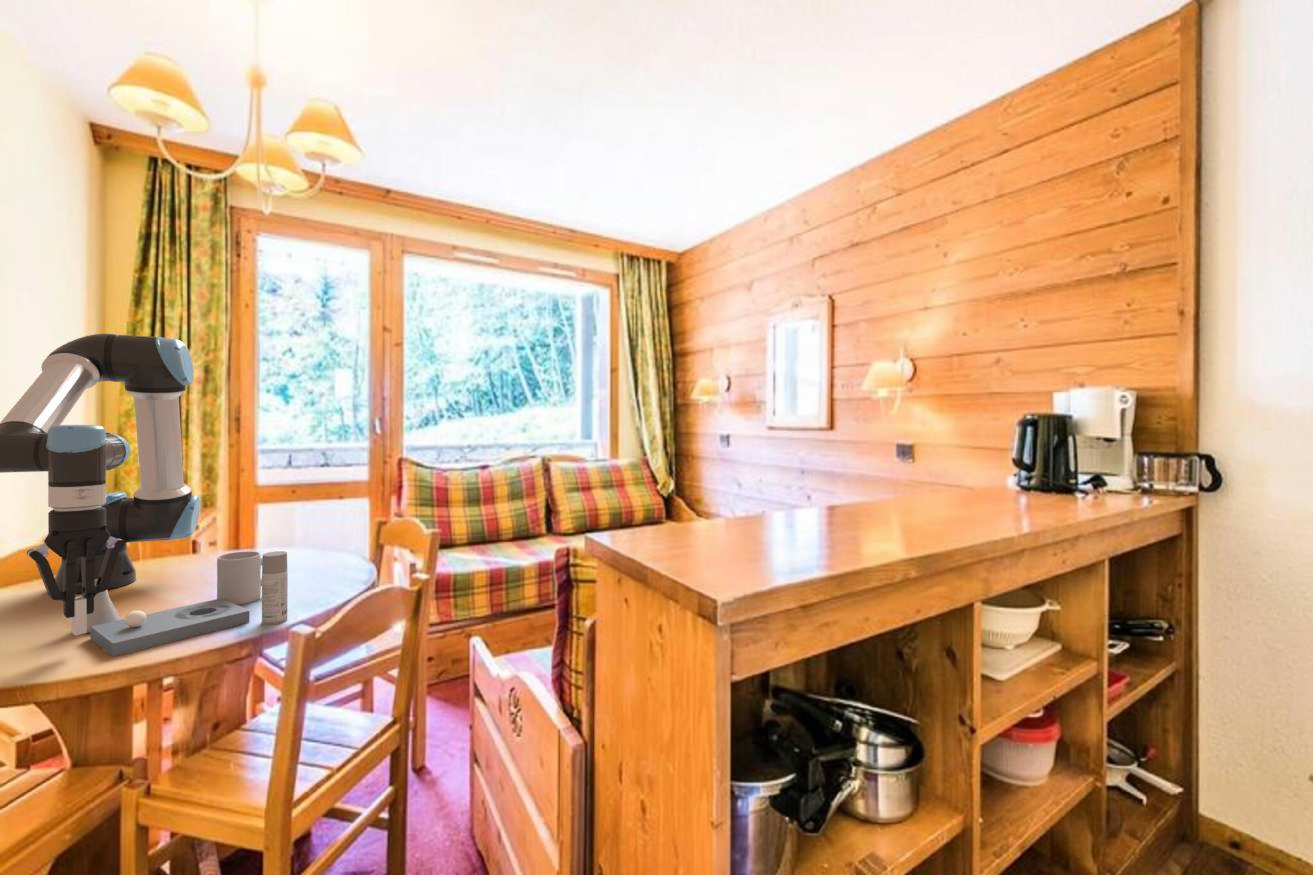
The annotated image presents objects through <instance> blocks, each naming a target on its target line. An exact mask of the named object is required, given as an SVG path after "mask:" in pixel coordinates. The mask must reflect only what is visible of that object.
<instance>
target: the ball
mask: <svg viewBox="0 0 1313 875" xmlns="http://www.w3.org/2000/svg"><path fill="white" fill-rule="evenodd" d="M146 614H147V613H145V612H144V611H143V610H132V611H130V612H129V613H128V614H127V615H126V616H125V618H124V619H125V624H126V625H127V626H129V627H138V626H141V625H142V624H143V623H144V622H145V621H146Z"/></svg>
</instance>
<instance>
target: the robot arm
mask: <svg viewBox="0 0 1313 875" xmlns="http://www.w3.org/2000/svg"><path fill="white" fill-rule="evenodd" d="M193 381H194V366H193V360H192V357H191V354H190V350H189V349H188V347H187V346H186V344H185V343H184V342H183V341H181V340H180V339H175V338H170V337H169V338H167V337H161V336H149V335H148V336H146V335H129V334H127V335H126V334H114V333H96V334H90V335H85V336H82V337H78V338H76V339H73V340H71V341H68V342H67V343H65V344H62V345H61V346H59V347H58V348H55V349H54V350H53V351H51V352H50V353H49V354H48V355H47V356H46V358H45V359H44V360H43V362H42V363H41V373H40V374H39V376H37V378H36V379H34V381H33V383H32V384H31V385H30V386H29V387H28V389H26V391H25V392H24V393H23V395H21V397H20V398H19V399H18V401H16V403H15V405H14V406H13V407H11V409H10V410H9V412H8V413H7V414H6V415H5V416H4V417H3V419H2V420H1V421H0V474H1V473H2V474H3V473H5V474H6V473H35V472H36V473H37V472H40V473H41V472H47V481H48V482H47V485H48V486H47V492H48V493H47V498H48V500H47V503H48V504H47V506H48V508H51V510H49V512H47V514H48V516H47V517H48V522H47V523H48V524H47V525H48V534H47V535H46V537H45V538H44V543H42V544H41V545H39V546H37V547H35V548H31V549H29V550H27V551H26V555H27V556H28V557H29V558H31V560H33V561H34V562H35V565H36V567H37V570H38V572H39V575H40V577H41V579H42V582H43V585H44V587H45V590H46V593H47V595H48V597H49V598H50V599H52V600H53V601H62V602H63V610H62V611H63V616H64V617H65V618H66V619H70V620H71V627H70V628H71V633H72V634H73V635H74V636H80V635H83V634H88V633H87V614H91V613H93V611H94V597H95V596H96V594H98V593H100V592H104V591H106V590H107V591H108V590H110V589H115V588H119V587H124V586H127V585H128V584H129V585H130V584H132V583H133V582H135V581H136V580H137V571H136V568H135V567H134V564H133V562H132V559H131V558H130V556H129V553H128V551H127V550H128V544H127V543H142V542H159V541H160V542H161V541H162V542H163V541H169V542H171V541H173V540H174V541H175V540H182V539H183V540H184V539H188V538H190V537H191V536H192V535H193V534H194V533H195V530H196V528H197V525H198V521H199V519H200V518H199V517H200V513H201V503H202V502H201V501H202V500H201V497H200V496H199V495H196V494H194V495H193V492H192V490H193V489H192V487H191V486H189V485H187V484H186V483H185V480H184V465H183V464H184V463H183V449H182V448H183V447H182V431H181V417H180V416H181V415H180V413H181V412H180V396H181V395H183V394H184V393H186V391H187V387H186V386H190V385H192V384H193ZM100 382H114V383H116V382H117V383H124V390H125V392H126V393H128V394H129V395H130V396H132V398H133V401H134V404H133V405H134V414H135V428H136V440H137V453H138V455H137V456H138V466H139V480H140V487H139V488H138V489H136V490H135V491H134V492H133V497H128V495H127V493H126V492H122V491H121V492H109V493H107V486H106V484H107V473H106V472H107V471H111V470H114V469H116V468H118V467H119V466H121V465H123V464H124V463H125V462H127V460H128V459H129V458H130V456H131V447H130V444H129V443H128V442H129V441H127V440H126V439H125V438H124V437H122V436H120V435H118V434H115V433H111V432H106V429H105V427H103V426H102V425H97V424H62V423H63V422H64V420H65V419H66V418H67V416H68V415H69V413H70V412H71V411H72V409H73V407H74V406H76V404H77V402H78V401H79V400H80V398H81V397H82V395H83V394H84V392H85V391H86V390H89V389H90V388H93V387H94V386H96V385H97V383H100ZM49 550H51V551H52V552H53V553H55V554H56V555H57V556H58V557H60V558H61V561H60V565H59V567H58V570H57V572H56V574H55V575H54V572H53V570H52V568H51V565H50V562H49V560H47V557H48V556H49V555H50V554H49ZM96 579H97V582H96V585H95V580H96ZM76 594H82V595H79V596H76Z"/></svg>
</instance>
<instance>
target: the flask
mask: <svg viewBox="0 0 1313 875" xmlns="http://www.w3.org/2000/svg"><path fill="white" fill-rule="evenodd" d="M96 582H97V579H96V580H95V585H96ZM118 620H123V618H122V617H121V616H120V614H119V612H118V610H117V609H116V606H115V605H114V603H113V601H112V599H111V598H110V595H109V591H108V589H107V590H106V591H104V592H100V593H98V594H96V596H95V597H94V611H93V613H91V614H87V633H86V634H88V633H89V634H91V626H95V625H100V624H104V623H109V622H114V621H118Z"/></svg>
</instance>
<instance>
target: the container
mask: <svg viewBox="0 0 1313 875" xmlns="http://www.w3.org/2000/svg"><path fill="white" fill-rule="evenodd" d="M262 558H263V559H262V566H261V579H262V586H261V623H262V624H263V625H266V626H267V625H268V626H269V625H272V626H273V625H278V624H282V623H284V622H286V621H287V620H288V594H289V593H288V575H289V574H288V552H287V551H282V550H278V551H277V550H275V551H270V552H265V553H263V554H262Z"/></svg>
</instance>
